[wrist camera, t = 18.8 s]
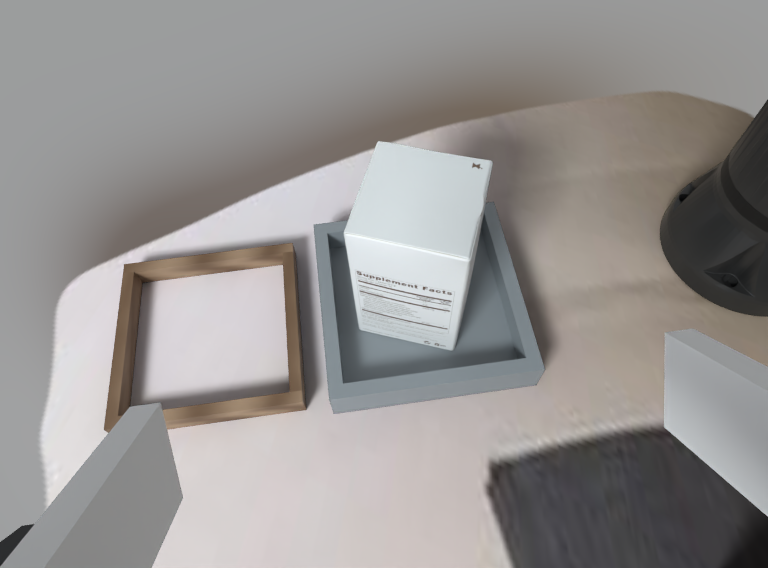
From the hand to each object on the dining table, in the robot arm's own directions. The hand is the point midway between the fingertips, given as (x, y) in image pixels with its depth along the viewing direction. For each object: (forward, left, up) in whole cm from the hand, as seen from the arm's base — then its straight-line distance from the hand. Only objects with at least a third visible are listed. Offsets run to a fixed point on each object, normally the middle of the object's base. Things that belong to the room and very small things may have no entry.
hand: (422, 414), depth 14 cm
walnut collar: (+15, -20, -32) cm, 40 cm away
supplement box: (-4, -20, -31) cm, 37 cm away
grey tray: (-4, -20, -32) cm, 37 cm away
